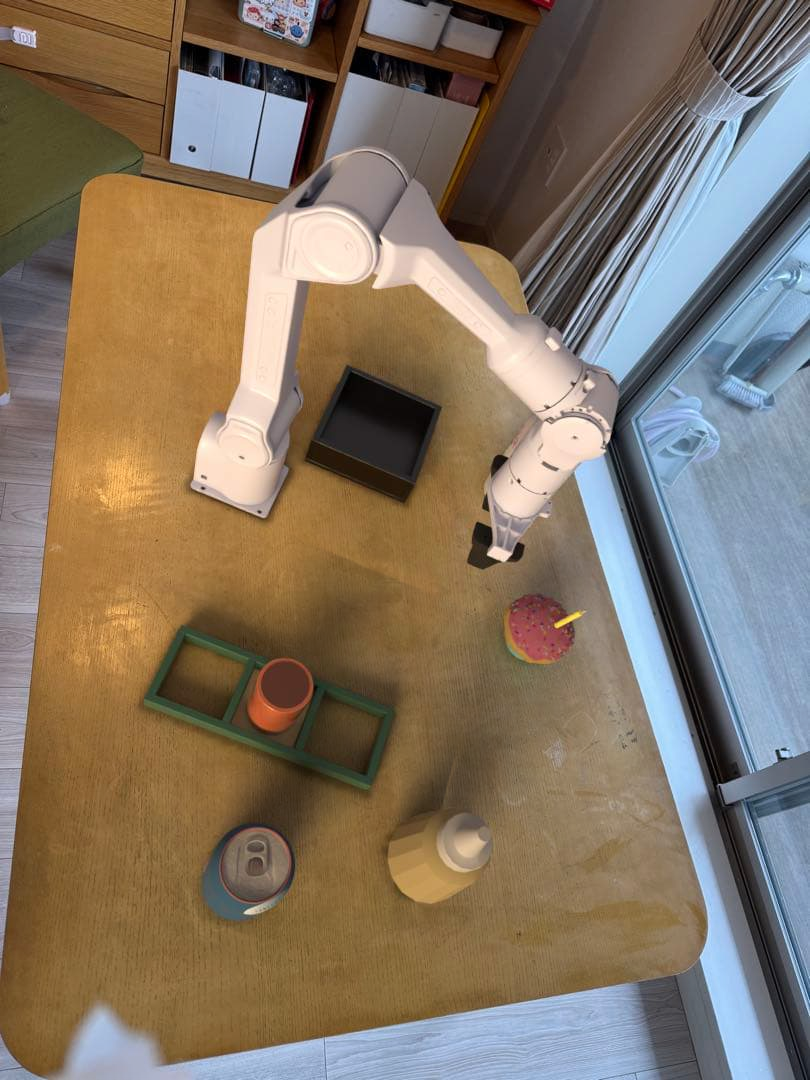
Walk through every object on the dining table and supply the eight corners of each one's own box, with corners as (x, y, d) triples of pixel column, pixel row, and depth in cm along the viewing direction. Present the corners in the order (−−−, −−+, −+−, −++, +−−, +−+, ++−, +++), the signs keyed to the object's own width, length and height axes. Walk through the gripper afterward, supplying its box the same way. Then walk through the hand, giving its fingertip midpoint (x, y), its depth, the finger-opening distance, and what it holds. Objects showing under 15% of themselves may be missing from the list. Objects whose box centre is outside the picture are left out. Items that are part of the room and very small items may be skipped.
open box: (304, 460, 96) (311, 439, 93) (339, 386, 104) (347, 364, 100) (404, 503, 98) (415, 484, 94) (431, 427, 105) (442, 406, 102)
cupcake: (561, 628, 96) (610, 587, 86) (546, 688, 91) (597, 652, 81) (499, 599, 95) (542, 554, 85) (481, 658, 91) (524, 618, 81)
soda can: (275, 919, 71) (299, 909, 61) (198, 924, 69) (209, 915, 59) (276, 839, 74) (298, 817, 64) (202, 842, 72) (213, 819, 62)
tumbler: (237, 724, 78) (247, 699, 71) (257, 676, 81) (269, 649, 74) (287, 743, 78) (302, 721, 72) (305, 695, 81) (321, 669, 75)
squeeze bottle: (374, 821, 78) (432, 783, 63) (449, 818, 80) (522, 781, 65) (379, 909, 74) (442, 891, 59) (458, 904, 77) (537, 885, 62)
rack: (365, 791, 79) (371, 786, 77) (143, 706, 77) (143, 699, 75) (388, 715, 84) (395, 708, 82) (180, 633, 81) (181, 624, 79)
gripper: (561, 544, 72) (502, 604, 83) (583, 432, 80) (527, 500, 91) (492, 515, 71) (442, 579, 82) (521, 405, 79) (472, 477, 90)
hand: (483, 536), depth 87 cm, fingers open, 7 cm apart
